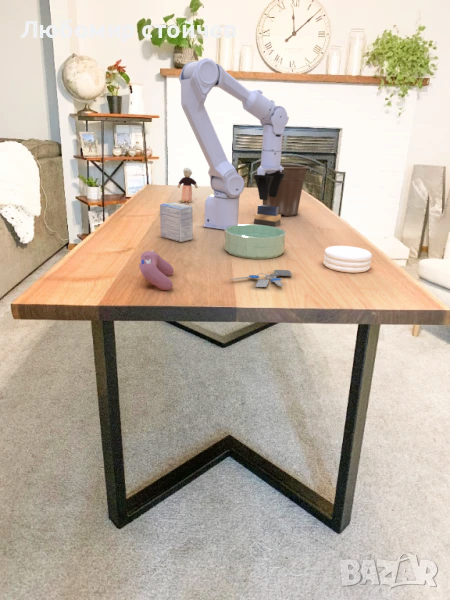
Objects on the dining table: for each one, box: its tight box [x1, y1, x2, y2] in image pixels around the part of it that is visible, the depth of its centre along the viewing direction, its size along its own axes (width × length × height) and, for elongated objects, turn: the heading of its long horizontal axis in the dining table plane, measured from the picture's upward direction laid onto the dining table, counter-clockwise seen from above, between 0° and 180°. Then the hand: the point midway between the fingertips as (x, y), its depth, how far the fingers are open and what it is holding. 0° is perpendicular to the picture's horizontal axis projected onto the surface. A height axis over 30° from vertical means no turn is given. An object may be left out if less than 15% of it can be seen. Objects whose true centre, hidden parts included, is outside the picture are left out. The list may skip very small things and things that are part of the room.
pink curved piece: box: [138, 249, 175, 291], centre depth 81 cm, size 10×5×7 cm, turn 5°
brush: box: [253, 204, 282, 227], centre depth 135 cm, size 7×4×6 cm, turn 63°
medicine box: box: [159, 202, 194, 243], centre depth 113 cm, size 8×4×9 cm, turn 47°
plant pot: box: [259, 163, 309, 217], centre depth 151 cm, size 16×16×16 cm
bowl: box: [223, 223, 287, 260], centre depth 105 cm, size 14×14×5 cm
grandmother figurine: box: [177, 167, 199, 204], centre depth 168 cm, size 8×4×13 cm, turn 95°
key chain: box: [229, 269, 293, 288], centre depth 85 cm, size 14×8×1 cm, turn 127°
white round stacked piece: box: [322, 245, 373, 274], centre depth 96 cm, size 10×10×4 cm
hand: (268, 198), depth 134 cm, fingers open, 7 cm apart
